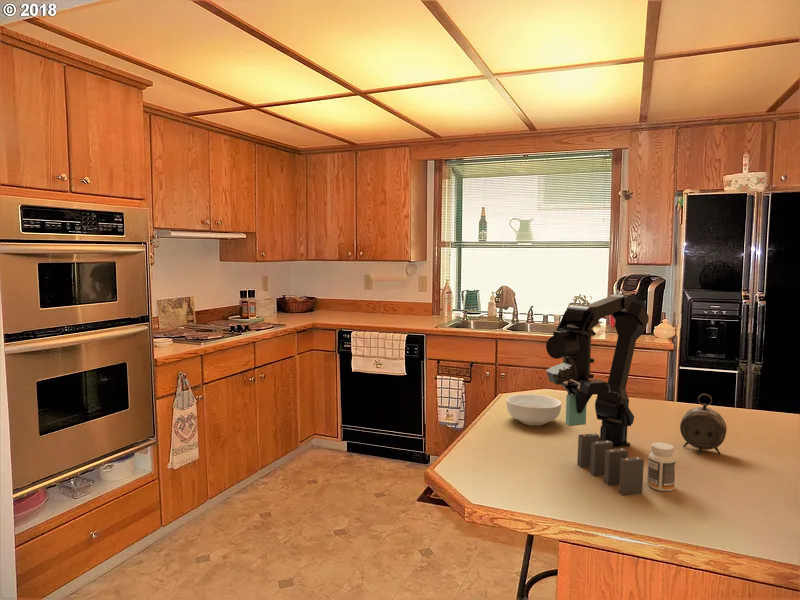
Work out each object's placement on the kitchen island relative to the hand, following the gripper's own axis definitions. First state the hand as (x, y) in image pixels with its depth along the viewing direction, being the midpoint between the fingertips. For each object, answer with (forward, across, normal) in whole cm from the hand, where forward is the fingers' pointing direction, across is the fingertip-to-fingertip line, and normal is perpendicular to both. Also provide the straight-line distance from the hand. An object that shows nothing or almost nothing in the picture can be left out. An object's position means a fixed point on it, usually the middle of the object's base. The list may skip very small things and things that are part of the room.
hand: (577, 412), depth 146 cm
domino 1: (+3, 0, 0) cm, 3 cm away
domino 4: (+12, +16, 0) cm, 21 cm away
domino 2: (+12, +6, 0) cm, 14 cm away
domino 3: (+12, +11, 0) cm, 17 cm away
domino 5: (+12, +22, 0) cm, 25 cm away
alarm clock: (+13, +5, +36) cm, 38 cm away
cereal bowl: (+13, -30, +4) cm, 33 cm away
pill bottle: (+13, +21, +9) cm, 26 cm away
